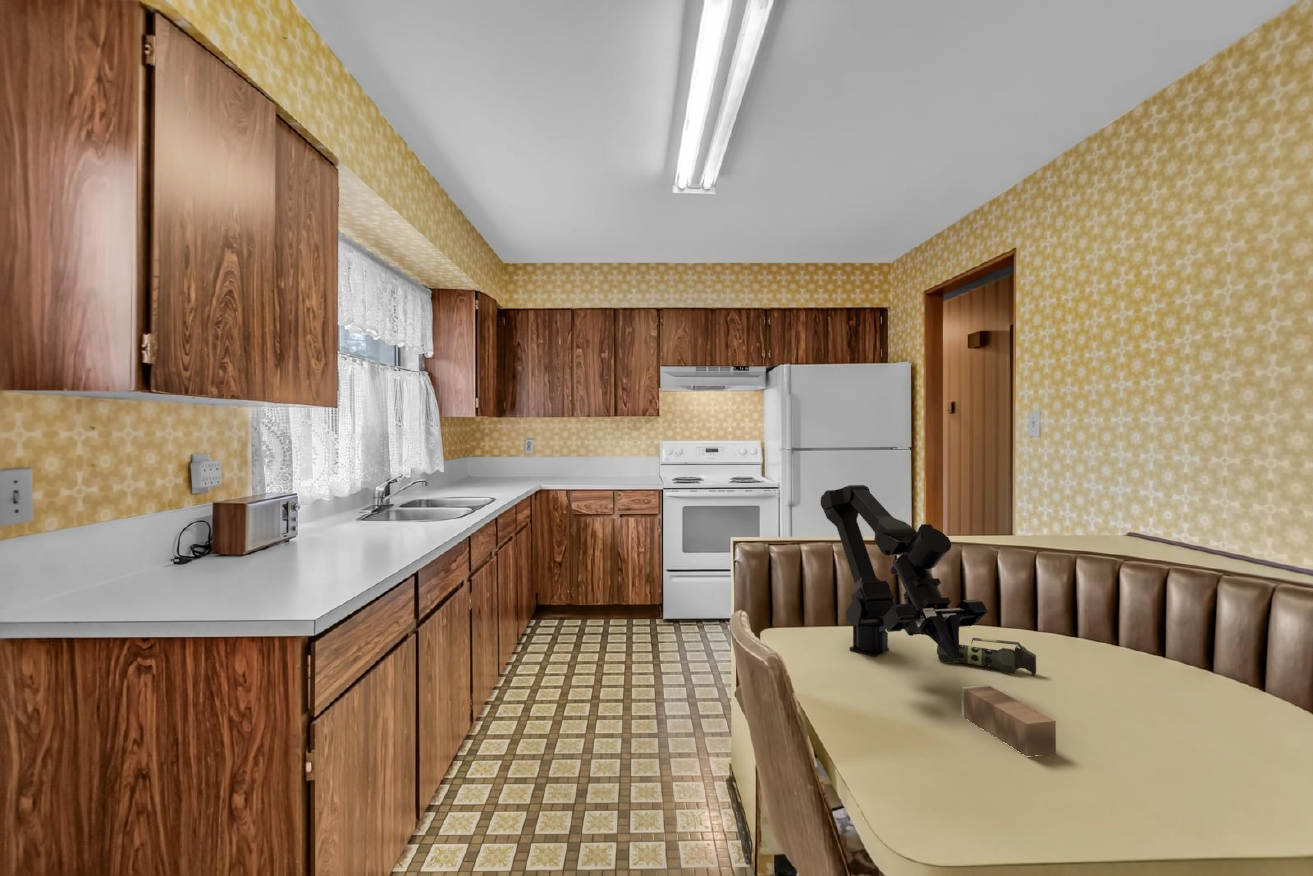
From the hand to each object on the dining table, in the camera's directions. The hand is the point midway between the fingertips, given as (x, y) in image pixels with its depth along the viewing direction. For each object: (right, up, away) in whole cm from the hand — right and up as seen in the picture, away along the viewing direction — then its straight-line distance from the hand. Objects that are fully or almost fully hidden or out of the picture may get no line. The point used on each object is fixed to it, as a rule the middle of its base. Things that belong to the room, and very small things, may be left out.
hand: (956, 659), depth 109 cm
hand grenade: (+15, -9, +18) cm, 25 cm away
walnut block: (+1, -5, -4) cm, 7 cm away
